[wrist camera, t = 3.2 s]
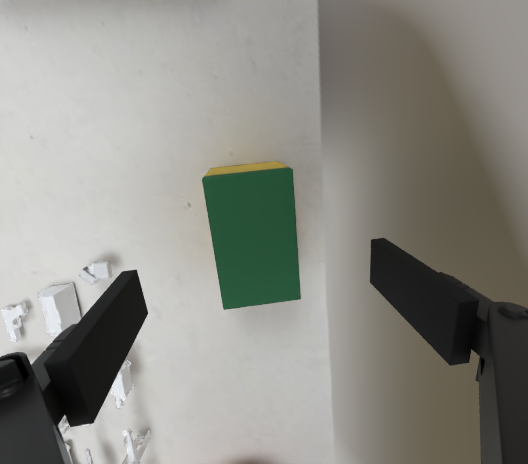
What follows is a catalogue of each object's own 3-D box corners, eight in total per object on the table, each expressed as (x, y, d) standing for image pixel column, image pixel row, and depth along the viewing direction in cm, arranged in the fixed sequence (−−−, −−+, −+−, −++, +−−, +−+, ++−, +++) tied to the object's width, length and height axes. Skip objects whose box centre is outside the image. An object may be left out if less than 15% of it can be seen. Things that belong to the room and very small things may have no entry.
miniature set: (168, 506, 37) (78, 501, 38) (126, 251, 28) (10, 252, 29) (145, 577, 30) (38, 569, 31) (82, 278, 22) (-65, 278, 22)
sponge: (210, 168, 25) (201, 178, 18) (277, 161, 25) (292, 168, 19) (226, 269, 28) (223, 310, 22) (285, 262, 29) (300, 299, 22)
